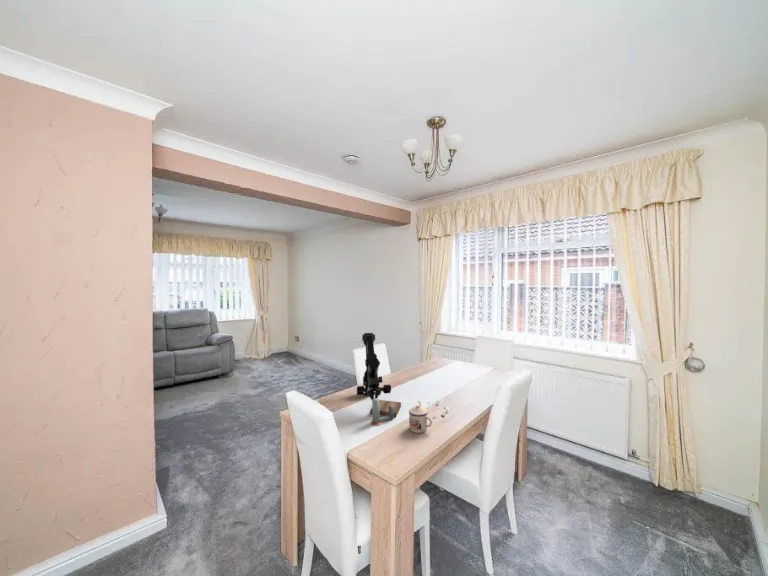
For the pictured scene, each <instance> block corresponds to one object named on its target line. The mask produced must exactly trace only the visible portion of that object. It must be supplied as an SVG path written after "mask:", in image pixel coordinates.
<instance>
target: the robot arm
mask: <svg viewBox="0 0 768 576" xmlns="http://www.w3.org/2000/svg"><path fill="white" fill-rule="evenodd" d="M361 340H362V342H363V344H364V346H365V359H364V360H365V361H364V365H365V368H366V369H365V371H364V373H363V377H362V385H357V387H356V396H362V395H363V396H368V397H369V399H370V400H371V401H372V399H374V398H378V399H379V396H380V395H381V394H382V393H383V394H391V392H392V385H391V384H383V386H381V387H380V383H383V376H381V375H380V376H379V366H380V365H381V362H380V361H379V358H378V356H377V354H376V353H375V345H374V343H375V341H376V334H374V333H373V332H364V333H363V334H362V335H361Z"/></svg>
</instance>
